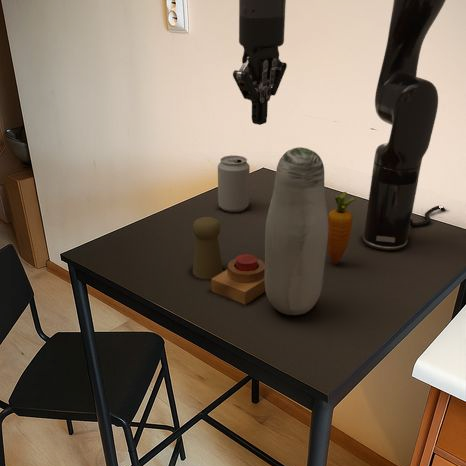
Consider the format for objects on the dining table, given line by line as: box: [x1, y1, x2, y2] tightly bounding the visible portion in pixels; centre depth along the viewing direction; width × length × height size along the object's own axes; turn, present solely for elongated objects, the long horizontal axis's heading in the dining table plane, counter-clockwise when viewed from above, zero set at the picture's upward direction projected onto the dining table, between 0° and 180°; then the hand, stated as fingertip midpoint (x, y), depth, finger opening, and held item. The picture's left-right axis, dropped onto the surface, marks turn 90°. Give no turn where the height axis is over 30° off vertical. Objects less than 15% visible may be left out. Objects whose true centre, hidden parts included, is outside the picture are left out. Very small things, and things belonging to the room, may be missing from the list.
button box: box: [210, 258, 266, 305], centre depth 111 cm, size 8×11×4 cm
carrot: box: [327, 191, 356, 266], centre depth 115 cm, size 5×5×15 cm
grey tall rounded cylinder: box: [264, 147, 329, 316], centre depth 97 cm, size 10×10×28 cm
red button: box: [236, 253, 258, 271], centre depth 109 cm, size 4×4×2 cm
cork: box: [192, 216, 224, 280], centre depth 114 cm, size 6×6×11 cm
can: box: [217, 154, 251, 213], centre depth 141 cm, size 8×8×12 cm
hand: (259, 123), depth 106 cm, fingers closed
